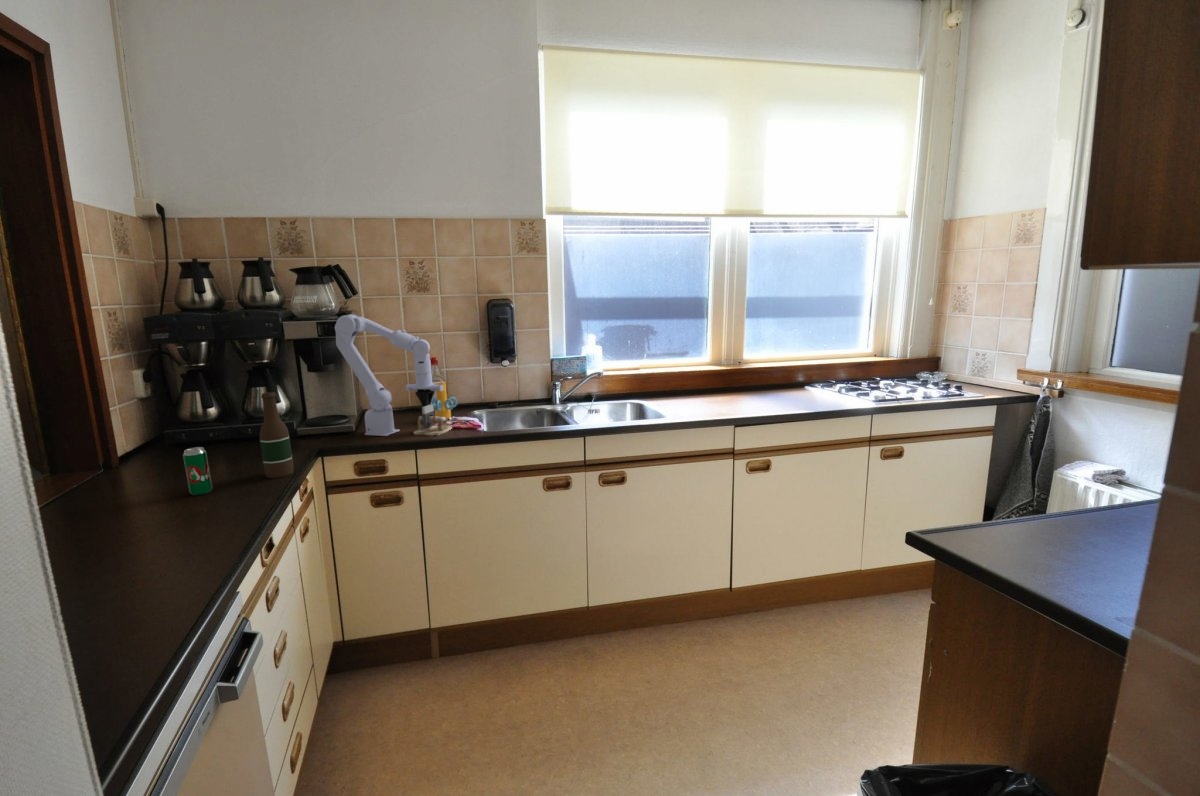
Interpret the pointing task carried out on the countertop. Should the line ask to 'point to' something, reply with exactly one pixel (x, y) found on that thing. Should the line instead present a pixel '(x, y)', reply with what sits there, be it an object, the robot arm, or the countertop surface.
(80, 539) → the countertop surface
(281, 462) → the beer bottle
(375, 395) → the robot arm
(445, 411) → the yellow blue ringed piece
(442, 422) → the pipe rig
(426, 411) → the grey bent plate
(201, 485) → the soda can
